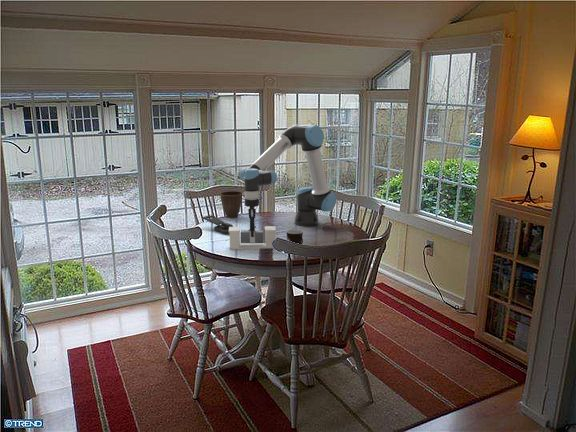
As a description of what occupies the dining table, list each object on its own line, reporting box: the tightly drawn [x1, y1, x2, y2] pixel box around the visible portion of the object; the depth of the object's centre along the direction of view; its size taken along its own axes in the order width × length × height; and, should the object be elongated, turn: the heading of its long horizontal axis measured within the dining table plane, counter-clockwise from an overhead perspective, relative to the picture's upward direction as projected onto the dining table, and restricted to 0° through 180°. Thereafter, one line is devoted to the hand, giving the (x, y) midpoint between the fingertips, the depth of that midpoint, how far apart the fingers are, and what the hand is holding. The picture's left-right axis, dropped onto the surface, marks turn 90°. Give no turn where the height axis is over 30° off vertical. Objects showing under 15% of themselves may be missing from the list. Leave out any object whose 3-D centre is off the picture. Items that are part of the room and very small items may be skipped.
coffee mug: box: [286, 228, 304, 245], centre depth 256 cm, size 12×9×10 cm
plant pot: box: [219, 190, 244, 219], centre depth 326 cm, size 15×15×16 cm
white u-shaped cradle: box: [229, 225, 277, 250], centre depth 263 cm, size 25×8×10 cm, turn 94°
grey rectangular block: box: [240, 229, 264, 243], centre depth 263 cm, size 12×4×6 cm, turn 93°
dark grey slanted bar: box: [202, 214, 234, 236], centre depth 296 cm, size 9×7×25 cm
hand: (252, 241), depth 263 cm, fingers closed on grey rectangular block, 4 cm apart
